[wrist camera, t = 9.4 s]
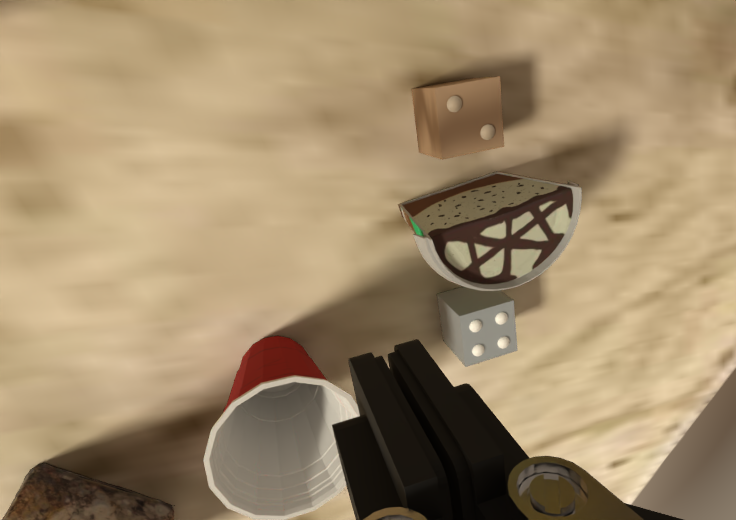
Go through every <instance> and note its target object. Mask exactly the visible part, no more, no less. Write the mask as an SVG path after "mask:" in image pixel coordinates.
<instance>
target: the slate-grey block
mask: <svg viewBox="0 0 736 520" xmlns="http://www.w3.org/2000/svg"><path fill="white" fill-rule="evenodd" d="M437 300H438V307H439V314H440V321H441V328H442V336H443V341H444V342H445V343H446V344H447V346H448V347H449V348H450V349H451V350H452V352H453V353H454V354H455V355H456V356H457V357H458V359H459V360H460V361H461V362H462V363H463V364H464V366H465V367H467V366H470V365H473V364H476V363H480V362H483V361H486V360H489V359H492V358H495V357H499V356H502V355H505V354H508V353H511V352H514V351H517V338H516V324H515V311H514V300H513V299H511V298H510V297H508V296H507V295H506V294H504V293H503V292H502V291H500V290H498V291H480V290H475V289H470V288H467V287H464V286H463V287H460V288H456V289H453V290H449V291H445V292H442V293H438V294H437Z"/></svg>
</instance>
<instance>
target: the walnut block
mask: <svg viewBox="0 0 736 520" xmlns="http://www.w3.org/2000/svg"><path fill="white" fill-rule="evenodd" d="M412 97H413V105H414V114H415V122H416V130H417V139H418V147H419V152H420V153H423V154H426V155H429V156H433V157H436V158H439V159H447V158H452V157H456V156H461V155H466V154H471V153H476V152H480V151H485V150H490V149H495V148H500V147H504V137H503V119H502V101H501V84H500V76H496V77H483V78H470V79H464V80H459V81H453V82H448V83H442V84H436V85H431V86H425V87H420V88H414V89H412Z"/></svg>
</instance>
